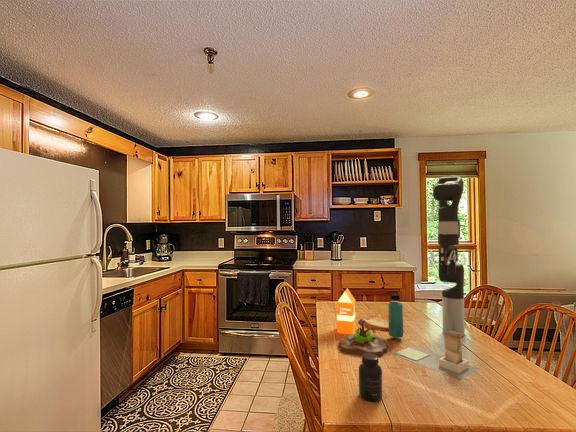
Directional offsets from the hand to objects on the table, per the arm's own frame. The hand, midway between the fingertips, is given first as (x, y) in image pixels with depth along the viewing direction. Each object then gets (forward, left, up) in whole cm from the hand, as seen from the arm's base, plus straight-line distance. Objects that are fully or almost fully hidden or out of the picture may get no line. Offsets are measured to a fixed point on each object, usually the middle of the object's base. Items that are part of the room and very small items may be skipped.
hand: (448, 273), depth 128 cm
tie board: (+13, 0, -32) cm, 35 cm away
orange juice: (+12, -45, -32) cm, 56 cm away
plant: (+21, -26, -33) cm, 47 cm away
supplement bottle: (+50, +1, -32) cm, 60 cm away
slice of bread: (-7, -41, -33) cm, 53 cm away
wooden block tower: (+12, +7, -31) cm, 34 cm away
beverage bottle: (+2, -24, -32) cm, 40 cm away
